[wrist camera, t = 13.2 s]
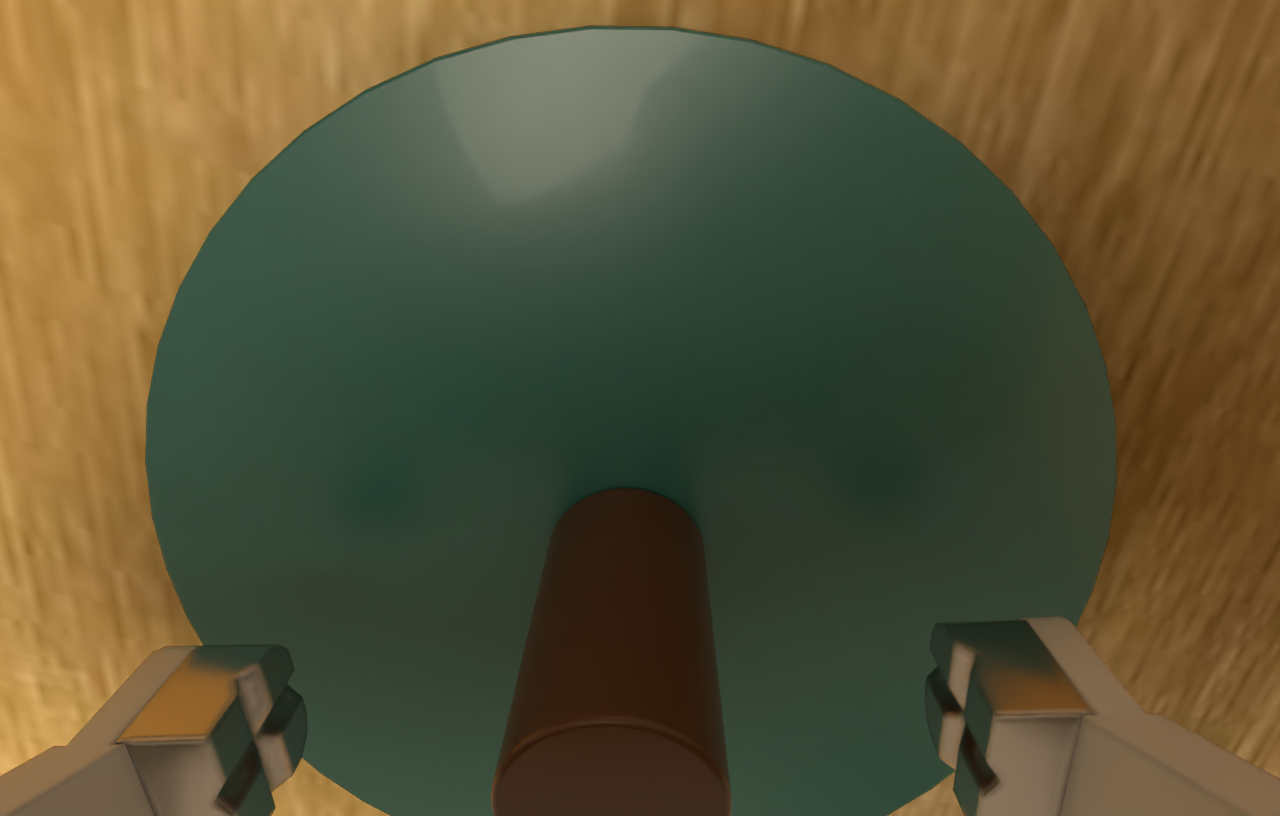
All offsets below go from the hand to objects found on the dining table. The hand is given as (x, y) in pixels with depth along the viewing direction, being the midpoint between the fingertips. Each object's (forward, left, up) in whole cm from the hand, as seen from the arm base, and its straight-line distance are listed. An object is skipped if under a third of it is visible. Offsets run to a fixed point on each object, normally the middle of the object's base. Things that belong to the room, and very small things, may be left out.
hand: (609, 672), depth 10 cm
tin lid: (0, 0, -3) cm, 3 cm away
